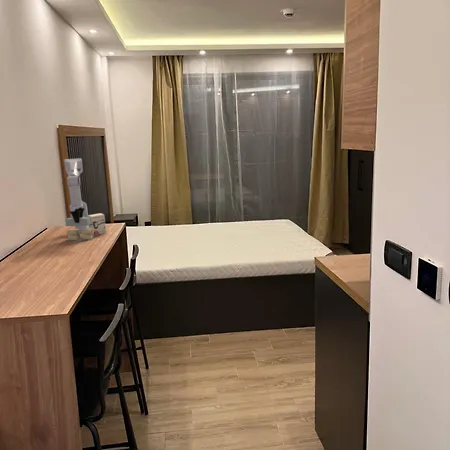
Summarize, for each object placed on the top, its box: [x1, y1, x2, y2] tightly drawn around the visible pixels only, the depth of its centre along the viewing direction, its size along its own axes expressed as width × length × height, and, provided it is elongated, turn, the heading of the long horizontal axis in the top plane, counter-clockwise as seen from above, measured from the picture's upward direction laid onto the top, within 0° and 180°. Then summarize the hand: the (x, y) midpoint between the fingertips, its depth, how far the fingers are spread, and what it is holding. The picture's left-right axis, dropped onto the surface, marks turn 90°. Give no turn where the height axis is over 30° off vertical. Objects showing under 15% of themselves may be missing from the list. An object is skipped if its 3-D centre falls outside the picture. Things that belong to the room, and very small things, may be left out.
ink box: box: [86, 212, 107, 236], centre depth 253 cm, size 8×5×12 cm, turn 134°
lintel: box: [65, 216, 90, 227], centre depth 241 cm, size 12×4×4 cm, turn 88°
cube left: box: [66, 228, 81, 240], centre depth 243 cm, size 5×5×5 cm
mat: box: [65, 235, 98, 242], centre depth 244 cm, size 11×15×1 cm
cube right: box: [81, 228, 95, 240], centre depth 242 cm, size 5×5×5 cm
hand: (78, 222), depth 241 cm, fingers closed on lintel, 4 cm apart
